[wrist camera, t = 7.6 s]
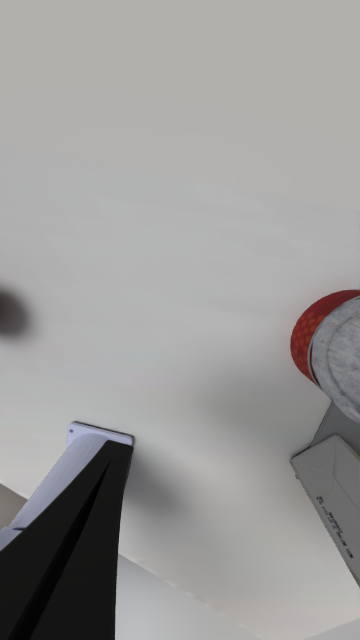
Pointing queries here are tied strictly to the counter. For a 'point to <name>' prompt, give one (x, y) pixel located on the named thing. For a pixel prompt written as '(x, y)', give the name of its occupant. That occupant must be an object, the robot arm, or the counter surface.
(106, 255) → the counter surface
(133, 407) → the counter surface
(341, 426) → the mat
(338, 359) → the canned food
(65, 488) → the robot arm
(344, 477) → the coffee box
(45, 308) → the counter surface
